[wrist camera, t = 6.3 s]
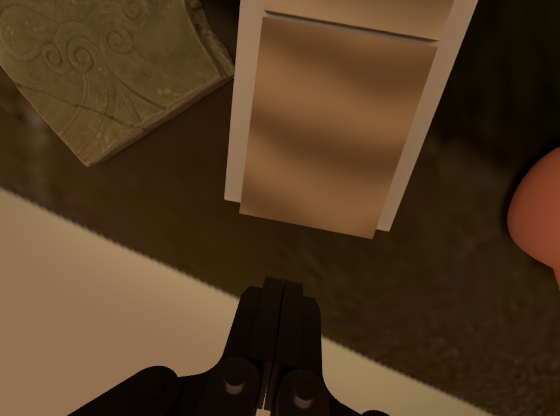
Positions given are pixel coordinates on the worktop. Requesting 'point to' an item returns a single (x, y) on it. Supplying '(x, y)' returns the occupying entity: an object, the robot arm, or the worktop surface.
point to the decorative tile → (110, 66)
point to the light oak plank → (371, 15)
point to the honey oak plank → (329, 124)
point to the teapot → (538, 212)
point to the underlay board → (442, 61)
